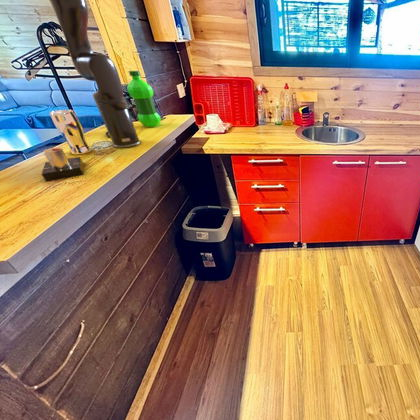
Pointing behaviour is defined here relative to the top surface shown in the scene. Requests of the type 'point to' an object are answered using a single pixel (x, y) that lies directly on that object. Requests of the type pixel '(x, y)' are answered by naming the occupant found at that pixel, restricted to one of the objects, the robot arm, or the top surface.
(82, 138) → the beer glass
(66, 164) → the dial
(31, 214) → the top surface
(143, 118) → the plastic bottle
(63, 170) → the black flat block
